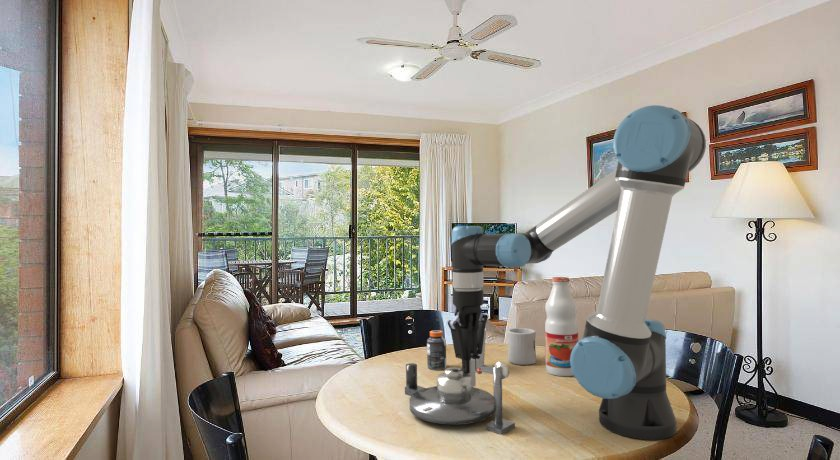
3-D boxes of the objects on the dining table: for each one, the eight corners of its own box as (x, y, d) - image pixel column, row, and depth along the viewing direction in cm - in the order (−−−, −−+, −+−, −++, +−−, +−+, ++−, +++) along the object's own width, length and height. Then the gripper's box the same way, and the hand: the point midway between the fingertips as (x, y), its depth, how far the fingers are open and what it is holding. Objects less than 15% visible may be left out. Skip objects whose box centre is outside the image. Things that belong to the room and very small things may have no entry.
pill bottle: (449, 366, 147) (449, 330, 147) (440, 371, 142) (439, 333, 142) (433, 363, 150) (432, 328, 150) (423, 368, 145) (423, 331, 145)
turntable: (512, 405, 110) (512, 374, 110) (457, 432, 96) (457, 396, 96) (434, 382, 128) (434, 356, 128) (378, 402, 114) (377, 372, 114)
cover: (478, 397, 111) (477, 369, 111) (455, 406, 105) (455, 377, 105) (453, 389, 117) (452, 363, 117) (430, 398, 111) (429, 370, 111)
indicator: (514, 427, 101) (513, 363, 101) (501, 434, 98) (500, 368, 98) (485, 417, 107) (484, 356, 107) (471, 424, 103) (470, 361, 103)
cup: (486, 372, 140) (485, 332, 140) (459, 371, 142) (458, 331, 142) (487, 365, 148) (487, 326, 148) (462, 364, 150) (461, 326, 150)
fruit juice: (572, 367, 144) (570, 275, 144) (583, 376, 135) (582, 278, 135) (541, 368, 144) (540, 276, 144) (551, 377, 135) (549, 279, 135)
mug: (539, 365, 147) (539, 333, 147) (510, 366, 147) (509, 333, 147) (530, 355, 159) (530, 325, 159) (503, 355, 159) (503, 325, 159)
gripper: (472, 285, 122) (474, 376, 122) (438, 290, 113) (440, 388, 113) (496, 287, 117) (497, 382, 117) (462, 293, 108) (464, 396, 108)
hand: (469, 385), depth 115 cm, fingers closed
